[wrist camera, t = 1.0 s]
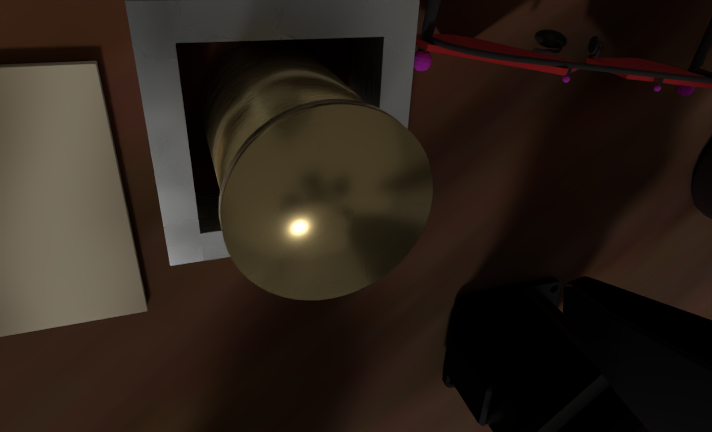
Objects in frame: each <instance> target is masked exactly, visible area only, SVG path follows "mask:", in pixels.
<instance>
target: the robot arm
mask: <svg viewBox="0 0 712 432" xmlns="http://www.w3.org/2000/svg"><path fill="white" fill-rule="evenodd" d="M561 288H562V284H561V282H560V281H559V280H557V279H556V278H547V279H542V280H537V281H532V282H527V283H522V284H517V285H512V286H507V287H503V288H498V289H493V290H488V291H483V292H478V293H473V294H468V295H464V296H461V297H460V298H458V300H457V301H456V303H455V307H454V313H453V319H452V325H451V331H450V335H449V337H448V342H447V348H446V354H445V360H444V366H443V368H444V371H443V377H442V380H443V382H444V383H445V385H446V386H447V387H449V388H451V387H455V388H456V389H457V391H458V392H459V394H460V395H461V397H462V399H463V400H464V402H465V403H466V405H467V406H468V408H469V410H470V411H471V413H472V414H473V416H474V417H475V419H476V421H477V422H478V423H479V424H480V425H482V426H486V425H489V427H490V428H491V430H492V431H493V432H712V320H709V319H707V318H704V317H701V316H698V315H695V314H692V313H690V312H687V311H684V310H681V309H678V308H675V307H673V306H670V305H667V304H664V303H661V302H658V301H655V300H653V299H650V298H647V297H644V296H641V295H638V294H636V293H633V292H630V291H627V290H624V289H621V288H619V287H616V286H613V285H610V284H607V283H604V282H602V281H599V280H596V279H593V278H590V277H585V276H584V277H580V278H577V279H575V280H572V281H570V282H568V283H566V285H565V286H564V299H563V313H562V312H561V311H560V310H559V309H558V308H557V307H556V305H557V302H558V299H559V295H560V292H561ZM465 304H466V305H465ZM464 305H465V306H464Z"/></svg>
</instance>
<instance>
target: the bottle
mask: <svg viewBox="0 0 712 432" xmlns="http://www.w3.org/2000/svg"><path fill="white" fill-rule="evenodd" d="M692 197H693V201H694V205H695V206H696V207H697V208H698V209H699V210H700V211H701V212H702V213H703V214H704V215H705V216H707V217H709V218H711V219H712V142H711V143H710V144H709V146H708V147H707V149H706V151H705V152H704V154H703V155H702V157H701V158H700V160H699V163H698V165H697V168H696V170H695V173H694V176H693V183H692Z"/></svg>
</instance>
